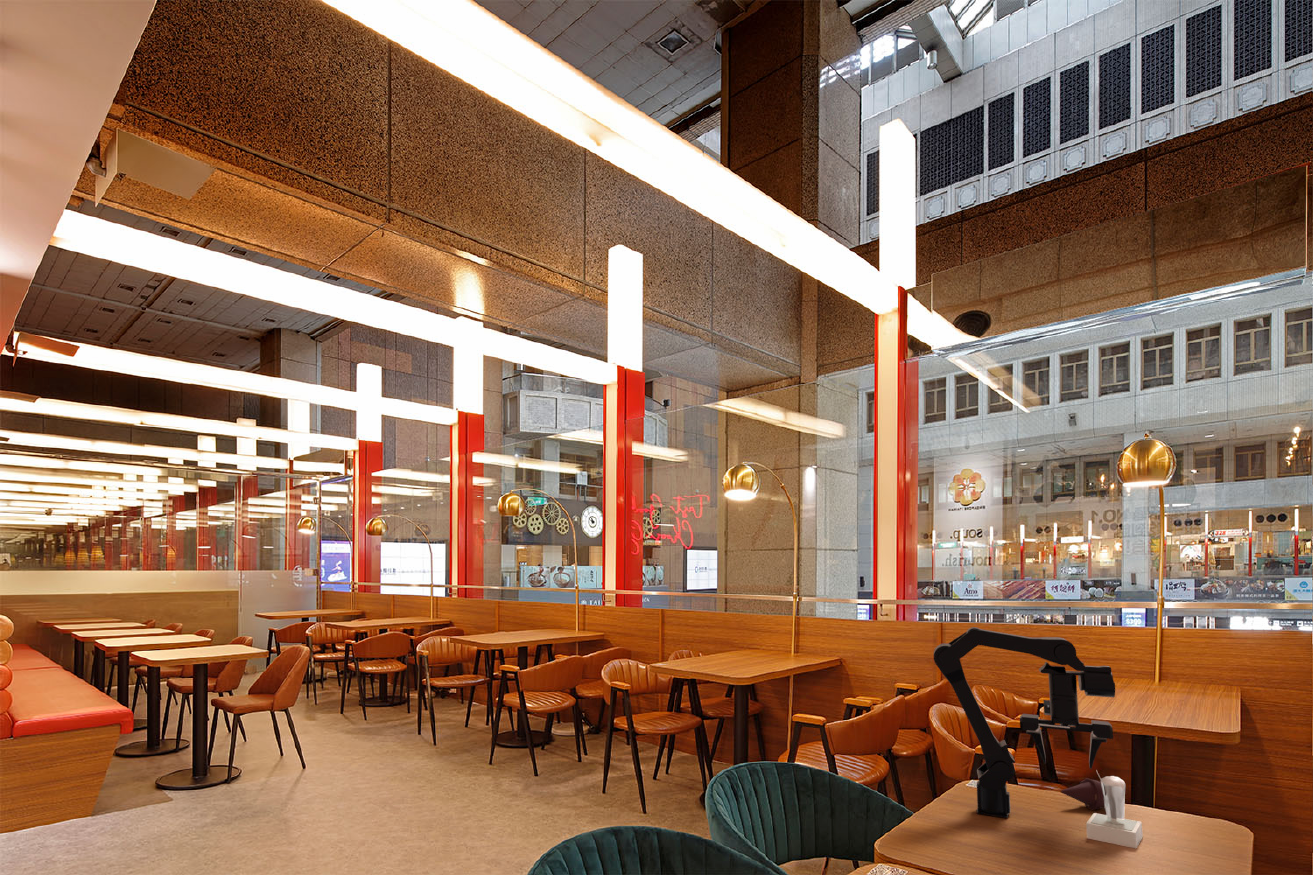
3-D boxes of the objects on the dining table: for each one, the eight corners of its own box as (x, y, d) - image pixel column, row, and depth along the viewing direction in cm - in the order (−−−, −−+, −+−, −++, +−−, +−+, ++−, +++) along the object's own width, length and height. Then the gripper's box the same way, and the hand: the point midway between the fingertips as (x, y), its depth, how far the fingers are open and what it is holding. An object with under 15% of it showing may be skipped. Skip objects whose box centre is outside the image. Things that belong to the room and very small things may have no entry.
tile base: (1087, 838, 166) (1086, 822, 166) (1095, 827, 173) (1094, 812, 173) (1136, 848, 160) (1135, 831, 161) (1142, 836, 167) (1141, 821, 168)
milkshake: (1101, 816, 171) (1098, 767, 172) (1129, 821, 167) (1126, 772, 169) (1097, 821, 167) (1094, 771, 169) (1126, 827, 164) (1122, 776, 165)
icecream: (1073, 785, 182) (1134, 791, 183) (1055, 769, 190) (1114, 774, 191) (1067, 813, 183) (1128, 819, 184) (1050, 796, 190) (1108, 801, 191)
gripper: (1107, 692, 184) (1112, 762, 181) (1019, 685, 192) (1023, 752, 190) (1110, 700, 174) (1115, 774, 171) (1018, 692, 182) (1021, 763, 180)
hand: (1067, 765), depth 178 cm, fingers open, 9 cm apart
